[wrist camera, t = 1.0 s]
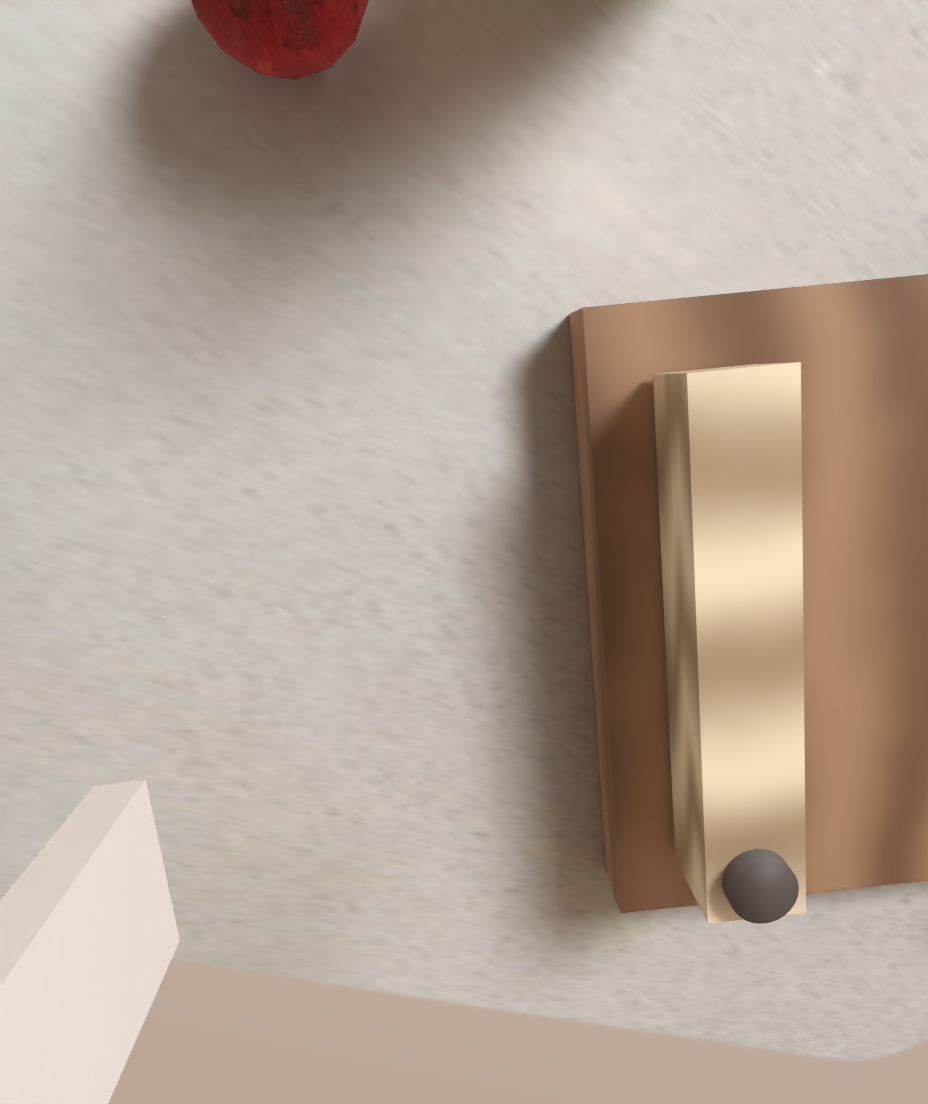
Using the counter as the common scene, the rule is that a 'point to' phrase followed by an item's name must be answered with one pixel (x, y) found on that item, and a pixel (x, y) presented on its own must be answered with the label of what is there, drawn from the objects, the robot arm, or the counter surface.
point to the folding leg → (735, 633)
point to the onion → (283, 32)
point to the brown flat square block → (828, 567)
